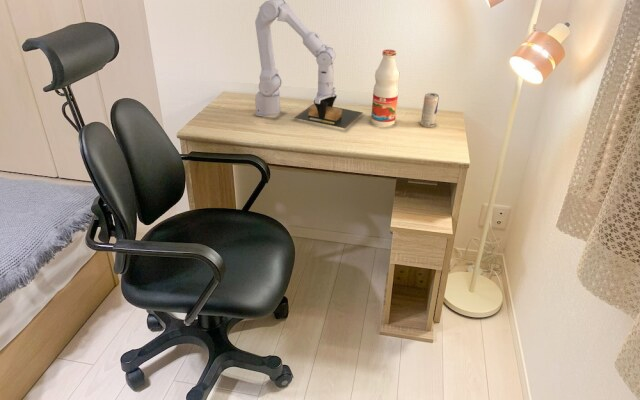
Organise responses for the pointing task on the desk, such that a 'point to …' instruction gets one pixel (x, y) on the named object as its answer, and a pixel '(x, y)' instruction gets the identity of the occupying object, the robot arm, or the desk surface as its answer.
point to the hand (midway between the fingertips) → (324, 115)
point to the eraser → (331, 113)
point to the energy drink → (429, 109)
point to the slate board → (345, 121)
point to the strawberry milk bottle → (385, 90)
